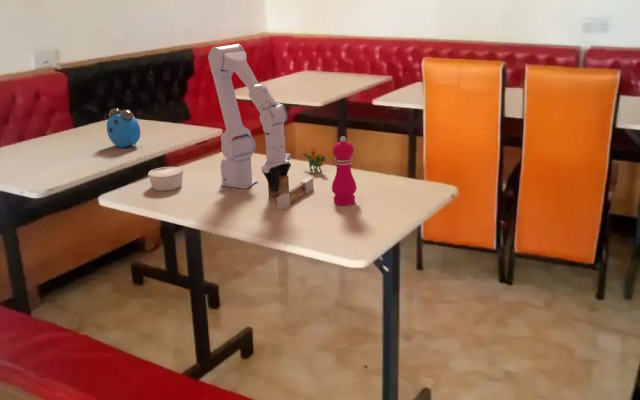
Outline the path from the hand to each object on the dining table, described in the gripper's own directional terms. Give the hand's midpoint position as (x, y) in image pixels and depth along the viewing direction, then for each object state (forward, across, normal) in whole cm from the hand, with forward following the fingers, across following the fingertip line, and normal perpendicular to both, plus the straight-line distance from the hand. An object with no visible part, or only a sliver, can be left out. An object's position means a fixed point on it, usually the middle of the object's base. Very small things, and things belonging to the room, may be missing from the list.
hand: (277, 188), depth 206 cm
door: (+2, 0, -7) cm, 7 cm away
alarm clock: (+2, +30, +86) cm, 91 cm away
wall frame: (+2, 0, -6) cm, 7 cm away
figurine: (+2, +26, +1) cm, 27 cm away
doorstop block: (+2, 0, 0) cm, 2 cm away
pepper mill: (+2, +2, -21) cm, 22 cm away
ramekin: (+2, -4, +39) cm, 39 cm away
